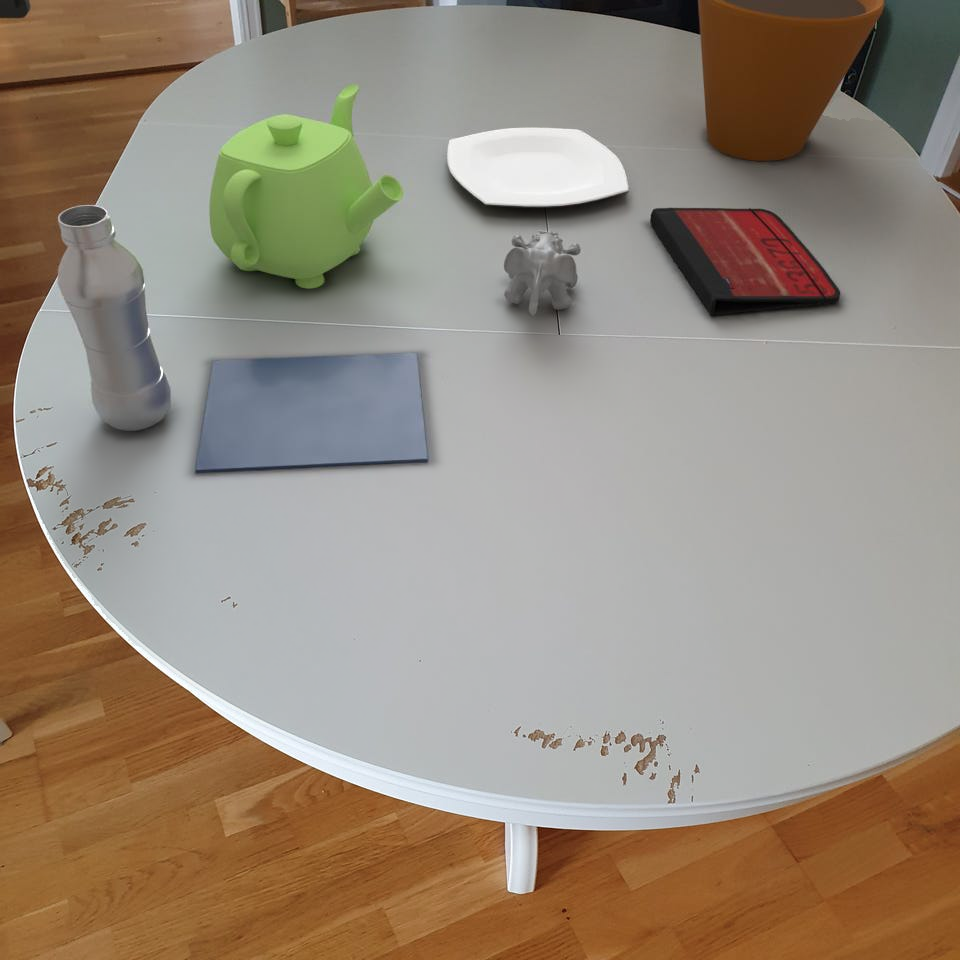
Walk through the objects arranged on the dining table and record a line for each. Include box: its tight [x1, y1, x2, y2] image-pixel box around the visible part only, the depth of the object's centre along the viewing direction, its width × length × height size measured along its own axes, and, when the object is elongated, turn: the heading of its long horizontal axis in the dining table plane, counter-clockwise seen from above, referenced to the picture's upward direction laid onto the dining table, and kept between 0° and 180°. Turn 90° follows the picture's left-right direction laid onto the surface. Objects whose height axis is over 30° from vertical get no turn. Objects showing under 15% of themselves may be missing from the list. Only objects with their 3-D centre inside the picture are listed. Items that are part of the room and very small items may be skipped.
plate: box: [446, 127, 630, 209], centre depth 124 cm, size 23×23×2 cm
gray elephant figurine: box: [503, 229, 582, 315], centre depth 99 cm, size 9×12×8 cm
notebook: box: [649, 207, 841, 317], centre depth 109 cm, size 16×2×21 cm
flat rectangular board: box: [194, 352, 429, 473], centre depth 87 cm, size 20×16×1 cm
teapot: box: [209, 83, 404, 289], centre depth 102 cm, size 25×22×16 cm
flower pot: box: [697, 0, 885, 162], centre depth 129 cm, size 24×24×20 cm
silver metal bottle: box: [56, 204, 172, 432], centre depth 79 cm, size 6×7×20 cm
